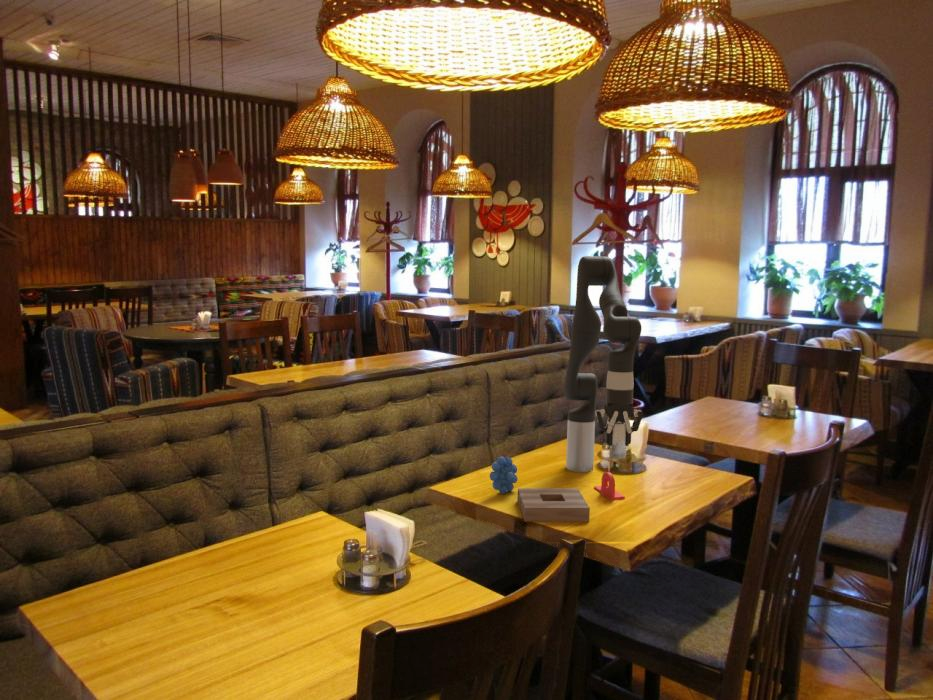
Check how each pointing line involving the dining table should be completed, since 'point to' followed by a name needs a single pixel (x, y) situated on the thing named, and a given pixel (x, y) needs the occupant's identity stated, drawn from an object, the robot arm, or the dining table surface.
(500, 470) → the grapes
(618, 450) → the peg
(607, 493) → the bracket
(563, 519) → the socket block
